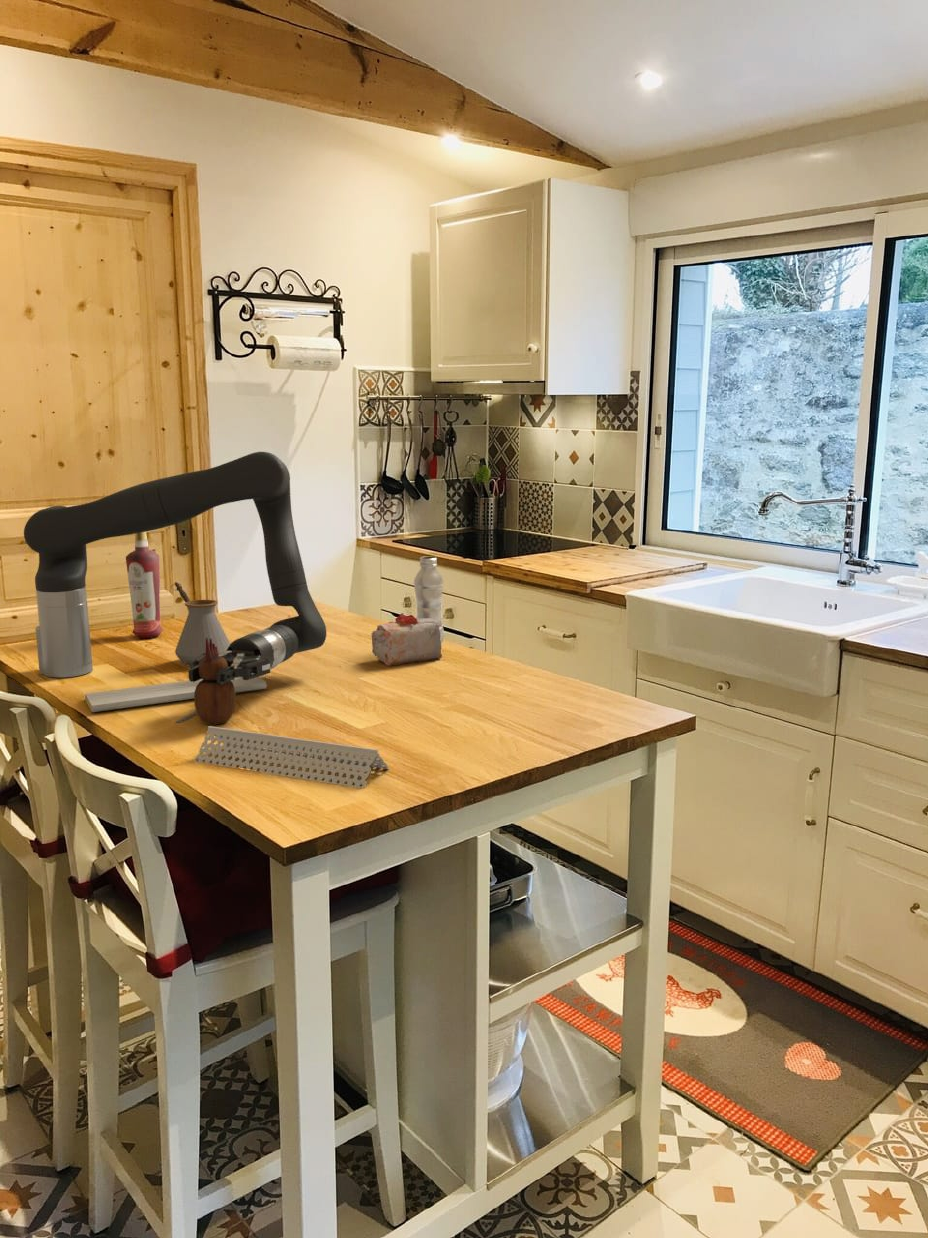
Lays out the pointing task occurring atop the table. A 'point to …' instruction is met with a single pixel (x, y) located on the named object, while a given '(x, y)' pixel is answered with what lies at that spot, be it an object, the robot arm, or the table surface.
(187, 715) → the thin grey rod
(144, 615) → the liquor
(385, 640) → the food item
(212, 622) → the coffee pot
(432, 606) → the plastic bottle
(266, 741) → the corner bead
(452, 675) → the table surface
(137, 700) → the baseboard molding
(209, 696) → the wooden figurine
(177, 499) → the robot arm
